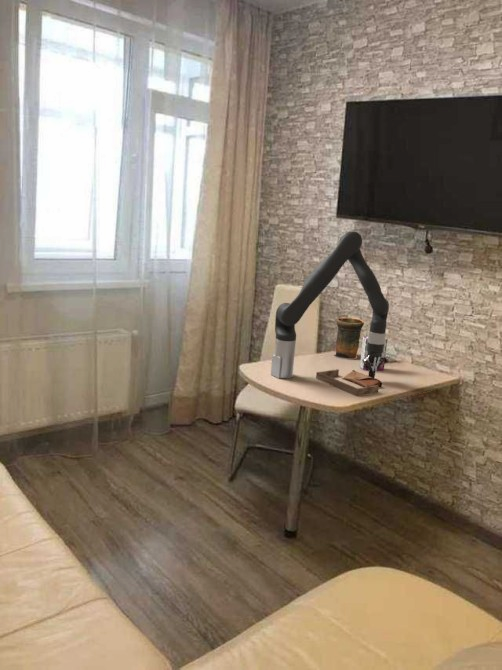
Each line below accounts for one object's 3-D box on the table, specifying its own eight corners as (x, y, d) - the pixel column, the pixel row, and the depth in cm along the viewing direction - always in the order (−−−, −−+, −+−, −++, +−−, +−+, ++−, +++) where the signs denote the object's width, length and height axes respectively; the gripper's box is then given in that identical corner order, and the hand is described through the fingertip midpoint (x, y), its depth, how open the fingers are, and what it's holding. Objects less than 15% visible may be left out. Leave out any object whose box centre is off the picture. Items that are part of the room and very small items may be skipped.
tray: (356, 396, 233) (357, 389, 232) (315, 378, 253) (316, 372, 253) (378, 392, 240) (378, 385, 239) (336, 375, 261) (337, 369, 260)
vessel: (365, 357, 298) (369, 320, 293) (351, 361, 288) (354, 324, 283) (342, 351, 307) (346, 315, 303) (328, 355, 297) (331, 319, 292)
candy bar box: (379, 367, 280) (383, 336, 276) (384, 370, 275) (388, 338, 271) (359, 367, 277) (362, 335, 274) (362, 370, 273) (366, 337, 269)
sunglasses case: (339, 378, 256) (346, 365, 257) (347, 383, 261) (354, 371, 261) (369, 390, 242) (376, 376, 243) (377, 395, 247) (384, 382, 248)
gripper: (379, 338, 259) (375, 374, 263) (359, 340, 251) (355, 377, 255) (392, 342, 253) (387, 378, 257) (372, 344, 245) (367, 382, 249)
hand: (371, 378), depth 256 cm, fingers closed
